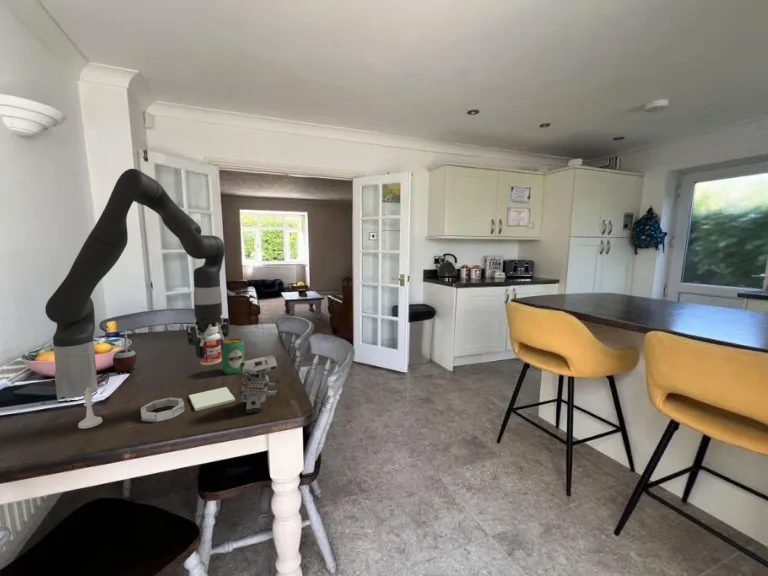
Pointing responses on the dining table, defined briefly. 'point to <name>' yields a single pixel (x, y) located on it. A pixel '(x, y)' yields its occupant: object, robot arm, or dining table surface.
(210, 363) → the pill bottle
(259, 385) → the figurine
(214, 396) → the sage pad
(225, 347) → the beverage can
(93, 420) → the chess piece
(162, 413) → the steel collar
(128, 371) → the mate gourd
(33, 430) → the dining table surface
